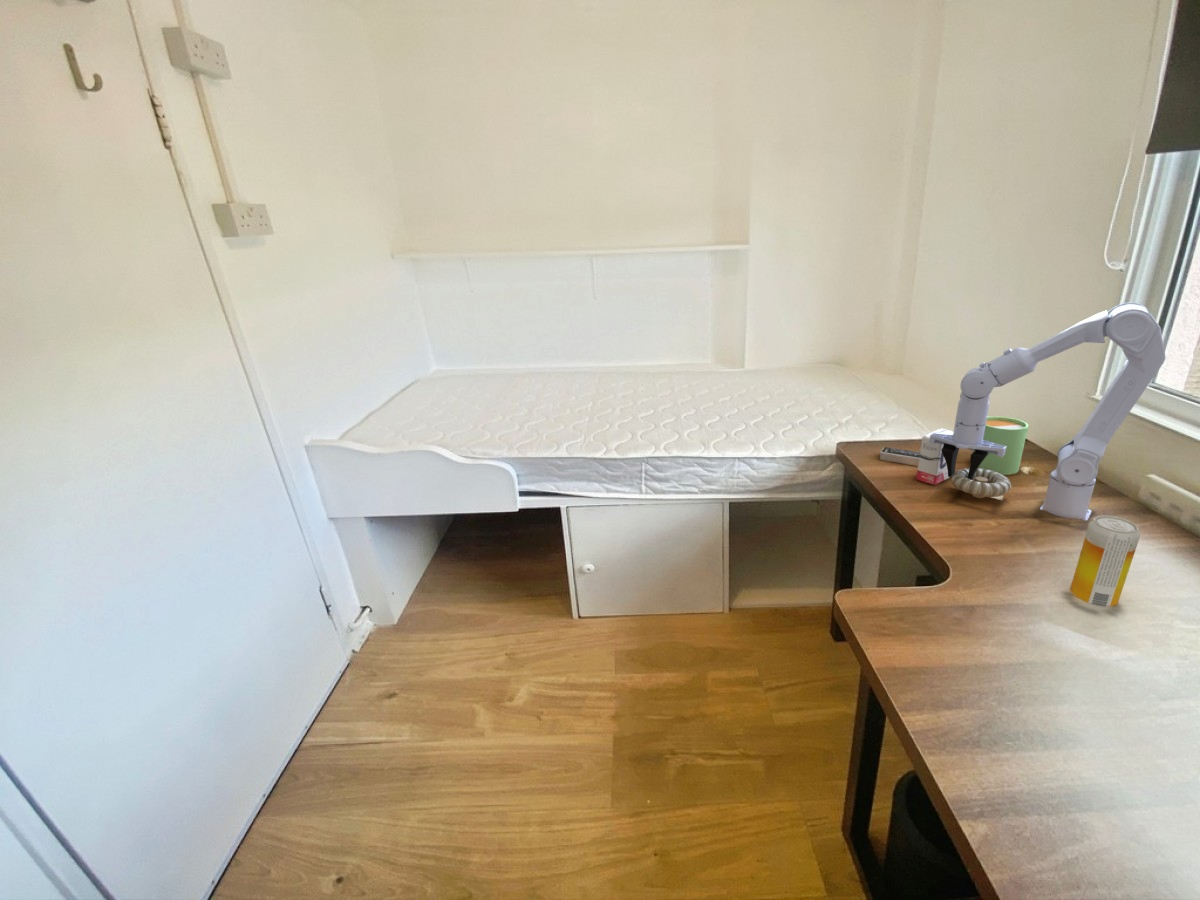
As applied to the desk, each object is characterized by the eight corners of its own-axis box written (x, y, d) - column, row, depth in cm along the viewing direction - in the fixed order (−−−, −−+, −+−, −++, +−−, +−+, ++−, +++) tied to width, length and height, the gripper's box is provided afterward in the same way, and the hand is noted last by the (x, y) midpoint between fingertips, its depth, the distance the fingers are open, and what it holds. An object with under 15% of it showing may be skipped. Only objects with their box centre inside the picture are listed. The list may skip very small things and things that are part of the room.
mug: (1029, 473, 137) (1040, 428, 133) (986, 476, 138) (995, 430, 133) (996, 454, 149) (1005, 412, 144) (957, 456, 149) (964, 414, 145)
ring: (959, 473, 132) (961, 462, 131) (1015, 486, 125) (1018, 474, 124) (943, 489, 125) (945, 477, 124) (1001, 503, 118) (1004, 491, 117)
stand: (962, 490, 132) (966, 468, 129) (1002, 499, 126) (1007, 477, 124) (951, 502, 127) (955, 480, 125) (992, 512, 121) (997, 489, 119)
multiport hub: (924, 467, 145) (925, 459, 144) (879, 459, 151) (880, 451, 150) (927, 461, 148) (928, 453, 147) (883, 454, 154) (883, 446, 154)
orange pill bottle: (1105, 593, 94) (1130, 516, 88) (1123, 616, 89) (1150, 535, 83) (1062, 588, 96) (1083, 512, 90) (1077, 610, 91) (1100, 531, 85)
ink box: (935, 485, 135) (942, 441, 130) (914, 479, 139) (921, 435, 134) (953, 476, 139) (961, 432, 134) (933, 470, 143) (940, 427, 138)
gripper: (928, 420, 125) (919, 475, 130) (1004, 433, 115) (992, 492, 120) (939, 412, 129) (930, 465, 134) (1013, 424, 119) (1001, 481, 124)
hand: (960, 477), depth 127 cm, fingers closed on ring, 3 cm apart
